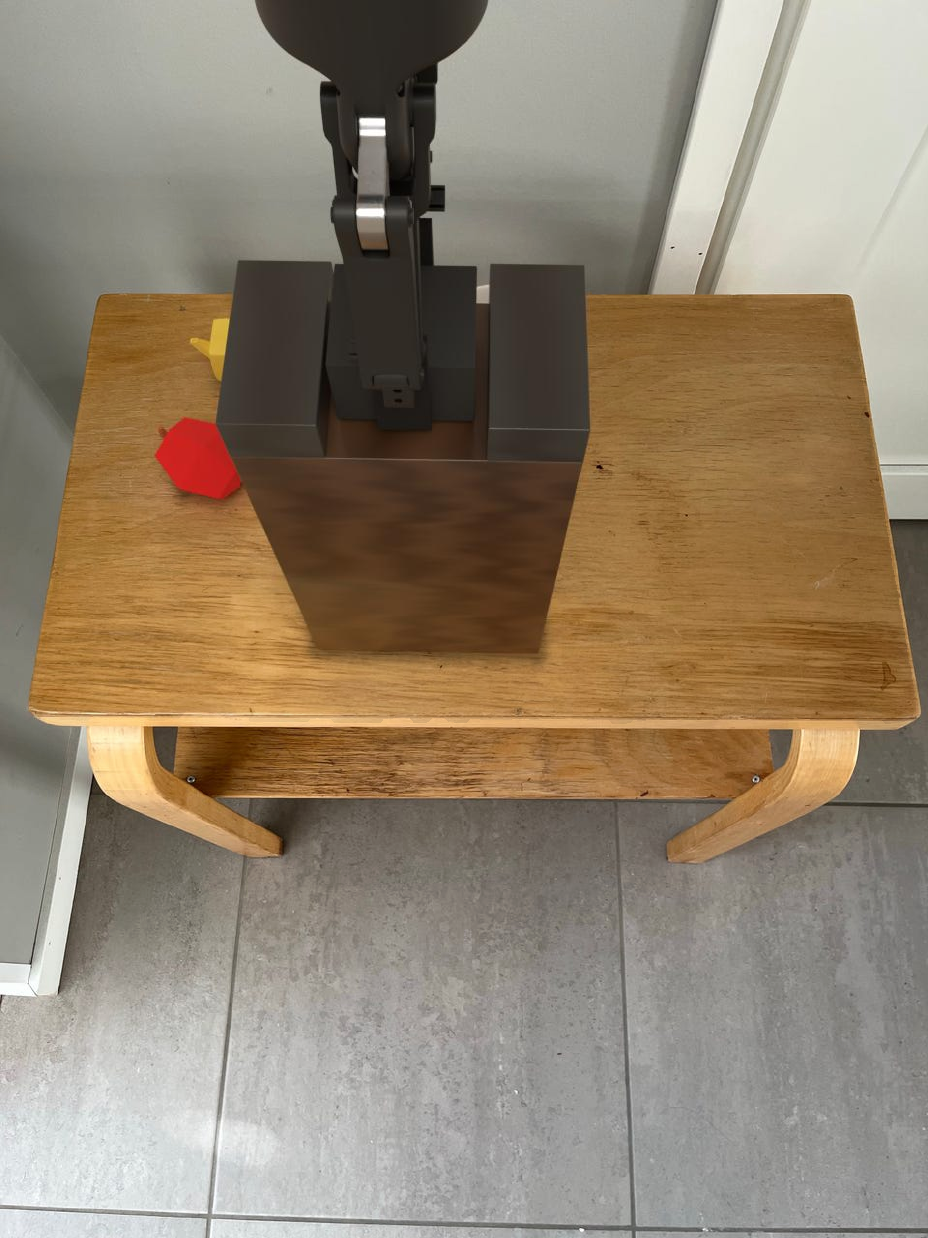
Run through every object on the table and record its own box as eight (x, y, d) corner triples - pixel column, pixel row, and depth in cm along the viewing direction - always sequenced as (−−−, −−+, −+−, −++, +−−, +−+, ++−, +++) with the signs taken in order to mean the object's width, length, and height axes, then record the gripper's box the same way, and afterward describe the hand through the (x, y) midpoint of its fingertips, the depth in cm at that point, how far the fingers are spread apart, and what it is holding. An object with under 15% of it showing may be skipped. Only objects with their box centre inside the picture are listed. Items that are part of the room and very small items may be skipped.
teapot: (197, 399, 83) (181, 363, 78) (205, 346, 85) (189, 309, 80) (285, 400, 83) (274, 365, 78) (290, 348, 85) (280, 310, 80)
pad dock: (537, 543, 78) (584, 264, 47) (538, 654, 74) (590, 430, 44) (326, 539, 78) (237, 258, 47) (317, 650, 75) (214, 424, 44)
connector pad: (475, 325, 49) (477, 265, 45) (474, 421, 47) (475, 367, 43) (345, 323, 49) (334, 262, 45) (337, 419, 47) (325, 364, 43)
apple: (263, 445, 75) (179, 386, 74) (215, 512, 74) (130, 454, 73) (264, 459, 82) (187, 405, 81) (220, 521, 81) (142, 468, 80)
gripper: (262, -321, 29) (347, 225, 51) (187, 111, 23) (322, 531, 44) (495, -318, 29) (482, 227, 51) (490, 116, 23) (477, 533, 44)
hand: (407, 368), depth 48 cm, fingers closed on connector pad, 6 cm apart
